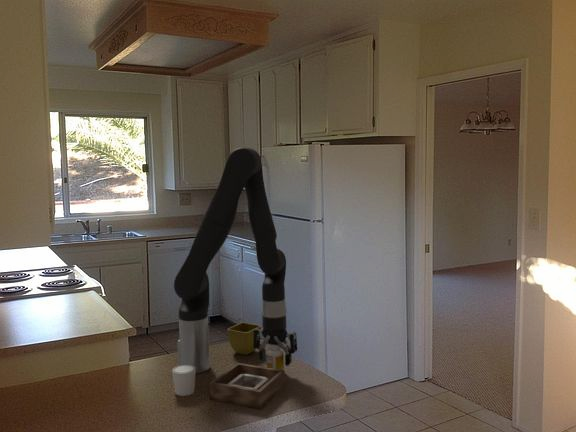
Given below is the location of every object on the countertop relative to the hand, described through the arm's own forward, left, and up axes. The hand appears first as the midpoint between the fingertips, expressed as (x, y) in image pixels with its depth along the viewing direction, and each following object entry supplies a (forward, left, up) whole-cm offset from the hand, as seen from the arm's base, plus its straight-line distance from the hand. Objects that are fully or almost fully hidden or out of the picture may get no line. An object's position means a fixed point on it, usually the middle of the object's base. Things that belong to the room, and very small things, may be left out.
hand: (275, 363), depth 173 cm
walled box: (-1, -16, -3) cm, 16 cm away
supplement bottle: (0, 0, -4) cm, 4 cm away
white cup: (-19, -22, -4) cm, 29 cm away
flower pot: (-18, +13, -4) cm, 23 cm away
